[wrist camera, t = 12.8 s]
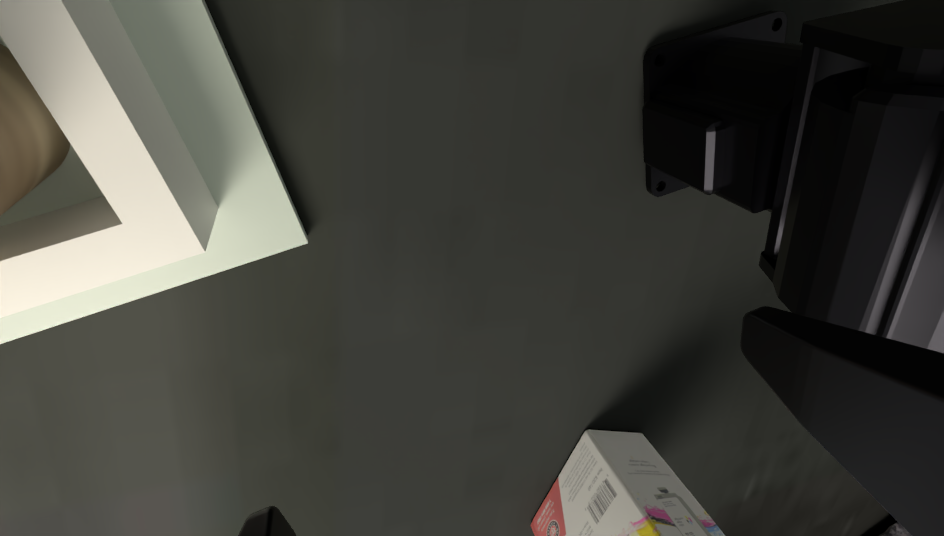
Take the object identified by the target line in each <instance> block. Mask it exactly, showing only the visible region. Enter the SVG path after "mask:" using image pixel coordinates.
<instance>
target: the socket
mask: <svg viewBox="0 0 944 536" xmlns="http://www.w3.org/2000/svg"><path fill="white" fill-rule="evenodd" d="M0 44H2V45H3V46H5V47H7V48H9V50H10V51H11V53H12V55H13V56H14V58H15V59H16V61H17V62H18V64H19V65H20V67H21V68H22V70H23V71H24V73H25V75H26V76H27V78H28V79H29V81H30V82H31V84H32V85H33V87H34V88H35V90H36V91H37V93H38V95H39V96H40V98H41V99H42V101H43V102H44V104H45V105H46V107H47V108H48V110H49V111H50V113H51V115H52V116H53V118H54V119H55V121H56V122H57V124H58V125H59V127H60V128H61V130H62V131H63V133H64V134H65V136H66V138H67V139H68V141H69V142H70V144H71V145H70V149H69V152H68V154H67V156H66V158H65V160H64V161H63V163H62V164H61V165H60V166H59V167H58V168H57V169H56V170H55V172H53V173H52V174H51V175H50V176H48V177H47V178H46V179H45V180H44V181H42V182H41V183H40V184H39V185H37V186H36V187H35V188H34V189H33V190H31V191H30V192H29V193H28V194H27V195H25V196H24V197H23V198H22V199H20V200H19V201H18V202H17V203H16V204H14V205H13V206H12V207H11V208H9V209H8V210H7V211H6V212H5V213H3V214H2V215H1V216H0V344H2V343H5V342H8V341H11V340H14V339H17V338H20V337H23V336H26V335H29V334H32V333H35V332H38V331H41V330H44V329H47V328H50V327H54V326H57V325H60V324H63V323H66V322H69V321H72V320H75V319H78V318H81V317H84V316H87V315H90V314H93V313H96V312H99V311H102V310H105V309H108V308H112V307H115V306H118V305H121V304H124V303H127V302H130V301H133V300H136V299H139V298H142V297H145V296H148V295H151V294H154V293H157V292H160V291H163V290H166V289H169V288H173V287H176V286H179V285H182V284H185V283H188V282H191V281H194V280H197V279H200V278H203V277H206V276H209V275H212V274H215V273H218V272H221V271H224V270H227V269H231V268H234V267H237V266H240V265H243V264H246V263H249V262H252V261H255V260H258V259H261V258H264V257H267V256H270V255H273V254H276V253H279V252H282V251H285V250H288V249H292V248H295V247H298V246H301V245H304V244H307V243H308V236H307V234H306V232H305V229H304V227H303V225H302V223H301V220H300V218H299V216H298V213H297V211H296V209H295V207H294V204H293V202H292V200H291V197H290V195H289V193H288V191H287V188H286V186H285V184H284V181H283V179H282V177H281V174H280V172H279V170H278V168H277V165H276V163H275V161H274V158H273V156H272V154H271V152H270V149H269V147H268V145H267V142H266V140H265V138H264V136H263V133H262V131H261V129H260V126H259V124H258V122H257V119H256V117H255V115H254V113H253V110H252V108H251V106H250V103H249V101H248V99H247V97H246V94H245V92H244V90H243V87H242V85H241V83H240V81H239V78H238V76H237V74H236V71H235V69H234V67H233V64H232V62H231V60H230V58H229V55H228V53H227V51H226V48H225V46H224V44H223V42H222V39H221V37H220V35H219V32H218V30H217V28H216V26H215V23H214V21H213V19H212V16H211V14H210V12H209V10H208V7H207V5H206V3H205V0H0Z"/></svg>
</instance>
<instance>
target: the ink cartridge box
mask: <svg viewBox="0 0 944 536" xmlns="http://www.w3.org/2000/svg"><path fill="white" fill-rule="evenodd" d="M531 528H532V530H533V532H534V534H535V536H725V535H724V534H723V532H722V531H721V530H720V529H719V527H718V526H717V525H716V524H715V522H714V521H713V520H712V519H711V517H710V516H709V515H708V514H707V512H706V511H705V510H704V509H703V508H702V506H701V505H700V504H699V503H698V501H697V500H696V499H695V498H694V497H693V495H692V494H691V493H690V492H689V490H688V489H687V488H686V487H685V485H684V484H683V483H682V482H681V481H680V479H679V478H678V477H677V476H676V474H675V473H674V472H673V471H672V469H671V468H670V467H669V466H668V465H667V463H666V462H665V461H664V460H663V458H662V457H661V456H660V455H659V453H658V452H657V451H656V450H655V449H654V447H653V446H652V445H651V443H650V442H649V441H648V440H647V439H646V438H645V436H644V435H643V434H642V433H633V432H617V431H603V430H591V429H589V430H586V431H585V432H584V433H583V435H582V437H581V439H580V440H579V442H578V444H577V445H576V447H575V449H574V450H573V452H572V454H571V456H570V457H569V459H568V461H567V462H566V464H565V466H564V467H563V469H562V471H561V473H560V474H559V476H558V478H557V479H556V481H555V483H554V484H553V486H552V488H551V490H550V491H549V493H548V495H547V496H546V498H545V500H544V501H543V503H542V505H541V507H540V508H539V510H538V512H537V513H536V515H535V517H534V519H533V521H532V523H531Z"/></svg>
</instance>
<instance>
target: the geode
mask: <svg viewBox="0 0 944 536" xmlns="http://www.w3.org/2000/svg"><path fill="white" fill-rule="evenodd" d="M878 536H911V535H910V534H909V533H908V532H907V531H906V530H905V529H904V528H903V527H902V526H901V525H900V524H899V523H898V522H897V523H895V524H893V525H891V526H889V528H888V529H887V530H886V531H885V532H884V533H882V534H880V535H878Z"/></svg>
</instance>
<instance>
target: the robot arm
mask: <svg viewBox="0 0 944 536" xmlns="http://www.w3.org/2000/svg"><path fill="white" fill-rule="evenodd" d="M773 22H775V23H774V26H773V27H772V23H773ZM786 27H787V16H786V14H785V13H784V12H782V11H769V12H766V13H762V14H759V15H756V16H752V17H749V18H746V19H742V20H739V21H736V22H732V23H729V24H726V25H722V26H719V27H716V28H712V29H709V30H706V31H702V32H699V33H696V34H692V35H689V36H685V37H682V38H679V39H675V40H672V41H669V42H665V43H662V44H659V45H655V46H653V47H651V48H649V50H648V51H647V52H646V54H645V56H644V60H643V74H644V106H643V145H644V162H645V163H646V188H647V191H648V192H649V193H650V194H652V195H654V196H657V197H659V196H663V195H666V194H669V193H672V192H675V191H678V190H680V189H683V188H686V187H689V186H691V187H693V188H695V189H697V190H699V191H701V192H703V193H705V194H707V195H711V194H715V195H717V196H719V197H721V198H723V199H726V200H728V201H730V202H732V203H734V204H736V205H738V206H740V207H742V208H744V209H746V210H748V211H750V212H752V213H758V212H761V211H763V210H767V211H769V212H771V219H770V224H769V229H768V235H767V240H766V245H765V251H763V252H762V253H761V256H760V262H759V266H760V268H761V269H762V270H763V271H764V273H765V274H766V275H767V276H768V277H769V279H770V280H771V281H772V282H773V284H774V287H775V290H776V293H777V296H778V298H779V299H780V300H781V301H782V302H783V303H784V304H785V306H786V307H787V308H788V309H789V310H790V311H791V312H792V313H791V312H787V311H783V310H780V309H776V308H772V307H766V306H765V307H760V308H758V309H755V310H753V311H750V312H748V313H746V314H745V316H744V317H743V324H742V333H741V350H742V352H743V354H744V356H745V358H746V359H747V360H748V361H749V363H750V364H751V365H752V366H753V367H754V369H755V370H756V371H757V372H758V374H759V375H760V376H761V377H762V378H763V380H764V381H765V382H766V383H767V384H768V386H769V387H770V388H771V389H772V391H773V392H774V393H775V394H776V395H777V397H778V398H779V399H780V400H781V402H782V403H783V404H784V405H785V406H786V408H787V409H788V410H789V411H790V412H791V413H792V415H793V416H794V417H795V418H796V419H797V420H798V421H799V423H800V424H801V425H802V426H803V427H804V428H805V429H806V430H807V431H808V432H809V433H810V434H811V435H812V436H813V437H814V438H815V439H816V440H817V441H818V442H819V443H820V444H821V445H822V446H823V447H824V448H825V449H826V450H827V451H828V452H829V453H830V454H831V455H832V456H833V457H834V458H835V459H836V460H837V461H838V462H839V463H840V464H841V465H842V466H843V467H844V468H845V469H846V470H847V471H848V472H849V473H850V474H851V475H852V476H853V477H854V478H855V479H856V480H857V481H858V482H859V483H860V484H861V485H862V486H863V487H864V488H865V489H866V490H867V491H868V492H869V493H870V494H871V495H872V496H873V497H874V498H875V499H876V500H877V501H878V502H879V503H880V504H881V505H882V506H883V507H884V508H885V509H886V510H887V511H888V512H889V513H890V514H891V515H892V516H893V517H894V518H895V519H896V520H897V522H898V523H899V524H900V525H901V526H902V527H903V528H904V529H905V530H906V531H907V532H908V533H909V534H910V535H911V536H944V0H903V1H899V2H894V3H889V4H885V5H880V6H876V7H871V8H866V9H862V10H857V11H853V12H848V13H843V14H839V15H834V16H830V17H825V18H820V19H816V20H811V21H806V22H804V23H803V26H802V32H801V37H800V42H802V43H803V45H796V44H788V43H785V36H786ZM658 54H659V56H660V59H659V62H658V63H657V64H656V65H655V58H656V56H657V55H658ZM660 181H661V183H660V185H659V187H658V188H656V186H657V184H658V183H659V182H660ZM238 536H296V534H295V532H294V530H293V529H292V528H291V526H290V525H289V523H288V522H287V521H286V519H285V518H284V516H283V515H282V513H281V512H280V511H279V509H278V508H277V507H275V506H269V507H267V508H265V509H262V510H260V511H257V512H255V513H253V514H251V515H250V516H249V517H248V518H247V519H246V521H245V523H244V525H243V527H242V529H241V531H240V533H239V535H238Z"/></svg>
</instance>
